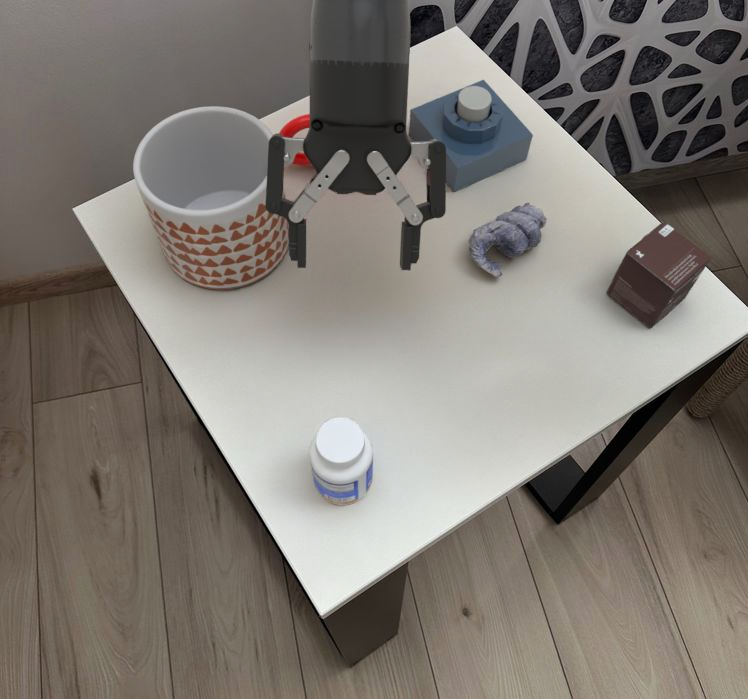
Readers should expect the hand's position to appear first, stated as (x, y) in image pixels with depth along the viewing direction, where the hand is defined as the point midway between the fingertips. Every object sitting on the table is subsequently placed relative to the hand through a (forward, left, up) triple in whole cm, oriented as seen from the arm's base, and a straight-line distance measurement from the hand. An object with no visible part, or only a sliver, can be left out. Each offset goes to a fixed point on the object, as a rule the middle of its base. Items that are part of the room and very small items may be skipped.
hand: (353, 267), depth 64 cm
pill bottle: (+7, +11, -15) cm, 20 cm away
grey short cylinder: (-25, -18, -10) cm, 32 cm away
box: (-30, +9, -15) cm, 35 cm away
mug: (-10, -23, -15) cm, 29 cm away
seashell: (-20, -3, -15) cm, 26 cm away
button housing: (-25, -18, -15) cm, 34 cm away
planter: (+5, -19, -15) cm, 25 cm away
